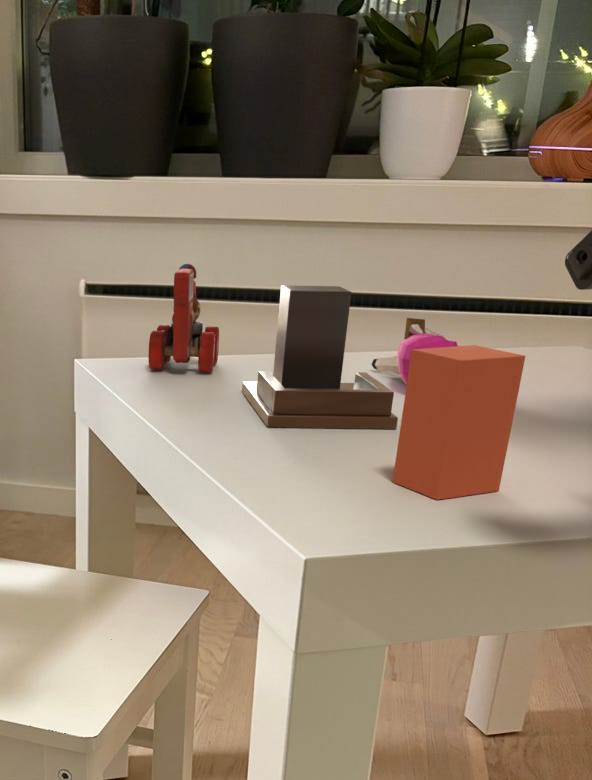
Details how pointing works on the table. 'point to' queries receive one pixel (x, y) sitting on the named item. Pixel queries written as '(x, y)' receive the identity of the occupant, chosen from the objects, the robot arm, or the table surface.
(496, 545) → the table surface
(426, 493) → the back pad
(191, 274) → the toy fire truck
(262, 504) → the table surface
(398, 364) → the toy
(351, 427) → the brown wooden stand
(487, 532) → the table surface
